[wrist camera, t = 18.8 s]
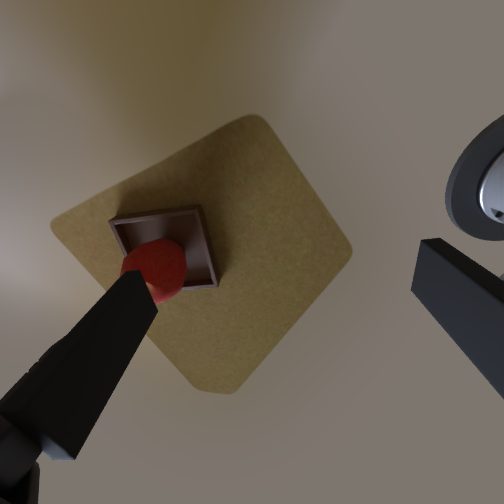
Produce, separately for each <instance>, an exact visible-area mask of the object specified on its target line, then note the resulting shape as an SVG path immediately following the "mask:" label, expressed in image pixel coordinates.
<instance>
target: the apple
mask: <svg viewBox="0 0 504 504" xmlns="http://www.w3.org/2000/svg"><path fill="white" fill-rule="evenodd" d="M131 270H140V271H141V273H142V275H143V278H144V280H145V282H146V284H147V287H148V289H149V291H150V293H151V296H152V298H153V300H154V303H155V304H157V303H161V302H165V301H167V300H169V299H170V298H172V297H173V296H175V295H176V294H177V293H178V292H179V291H181V289H182V286H183V284H184V281H185V277H186V274H187V263H186V255H185V252H184V250H183V249H182V247H181V246H180V245H179V244H178V243H177V242H175V241H173V240H171V239H166V238H160V239H156V240H153V241H150V242H146V243H143V244H141V245H140V246H138V247H137V248H135V249H134V250H133V251H131V252H130V253H129V254H128V255H127V256H126V257H125V258H124V261H123V265H122V269H121V273H120V277H121V276H122V275H123V273H124V272H125V271H131Z"/></svg>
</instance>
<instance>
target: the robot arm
mask: <svg viewBox="0 0 504 504" xmlns="http://www.w3.org/2000/svg"><path fill="white" fill-rule="evenodd" d="M476 202H477V205H478V208H479V209H480V211H481V212H482V213H483V214H484V215H485V216H486V217H488V218H490V219H492V220H494V221H497V222H500V223H503V224H504V148H503V149H502V150H501V151H500V152H498V154H497V155H496V156H495V157H494V158H493V159H492V160H491V161H490V162H489V164H488V165H487V167H486V168H485V170H484V171H483V173H482V175H481V177H480V179H479V182H478V185H477V189H476ZM411 291H412V292H413V293H414V294H415V295H416V297H417V298H418V299H419V300H420V301H421V303H422V304H423V305H424V306H425V307H426V309H427V310H428V311H429V312H430V313H431V314H432V316H433V317H434V318H435V319H436V320H437V321H438V323H439V324H440V325H441V326H442V327H443V328H444V330H445V331H446V332H447V333H448V334H449V335H450V337H451V338H452V339H453V340H454V341H455V342H456V344H457V345H458V346H459V347H460V348H461V350H462V351H463V352H464V353H465V354H466V356H468V358H469V359H470V360H471V361H472V363H473V364H474V365H475V366H476V367H477V368H478V370H480V372H481V373H482V374H483V375H484V376H485V378H486V379H487V380H488V381H489V382H490V384H491V385H492V386H493V387H494V388H495V390H496V391H497V392H498V393H499V394H500V395H501V397H502V398H503V399H504V274H503V275H501V276H500V277H499V278H498V277H497V276H495V275H494V274H493V273H491V272H490V271H488V270H487V269H485V268H484V267H482V266H481V265H479V264H478V263H476V262H475V261H473V260H472V259H470V258H469V257H468V256H466V255H464V254H463V253H462V252H460V251H459V250H457V249H456V248H454V247H453V246H451V245H450V244H448V243H447V242H445V241H444V240H442V239H441V238H433V239H424V240H421V242H420V247H419V253H418V257H417V263H416V267H415V272H414V277H413V282H412V287H411ZM157 313H158V309H157V307H156V305H155V303H154V300H153V298H152V296H151V293H150V291H149V289H148V287H147V284H146V282H145V280H144V278H143V275H142V273H141V271H140V270H131V271H125V272H124V273H123V275H122V276H121V277H120V278H119V279H118V280H117V281H116V282H115V283H114V284H113V285H112V286H111V287H110V289H109V290H108V291H107V292H106V293H105V294H104V295H103V296H102V297H101V298H100V300H99V301H98V302H97V303H96V304H95V305H94V306H93V307H92V308H91V309H90V310H89V311H88V313H86V315H85V316H84V317H83V318H82V319H81V320H80V321H79V322H78V323H77V324H76V326H75V327H73V329H72V330H71V331H70V332H69V333H68V334H67V335H66V336H64V337H63V338H62V339H61V340H59V341H58V342H56V343H55V344H54V345H52V346H51V347H50V348H49V349H48V350H47V351H46V352H45V353H44V354H43V355H42V356H41V357H40V359H39V361H38V362H36V363H35V364H34V365H33V366H32V367H31V368H30V369H29V372H28V373H25V374H24V375H23V376H22V378H21V379H20V380H19V381H18V382H17V383H16V384H15V385H14V386H13V387H12V388H11V389H10V390H9V391H8V392H7V393H6V394H5V395H4V397H3V398H2V399H1V400H0V504H38V494H39V476H40V469H39V464H38V463H37V462H36V459H37V458H38V457H39V455H40V454H41V452H42V451H43V452H44V453H45V454H47V455H48V456H49V457H50V458H51V459H52V460H75V459H76V457H77V455H78V453H79V452H80V450H81V448H82V446H83V445H84V443H85V441H86V439H87V437H88V435H89V434H90V432H91V430H92V428H93V427H94V425H95V423H96V421H97V419H98V418H99V416H100V414H101V412H102V411H103V409H104V407H105V405H106V404H107V402H108V400H109V398H110V396H111V395H112V393H113V391H114V389H115V388H116V386H117V384H118V382H119V380H120V379H121V377H122V375H123V373H124V371H125V370H126V368H127V366H128V364H129V363H130V360H131V359H132V357H133V355H134V354H135V352H136V350H137V348H138V346H139V345H140V343H141V341H142V339H143V338H144V336H145V334H146V332H147V330H148V329H149V327H150V325H151V323H152V322H153V320H154V318H155V316H156V314H157Z"/></svg>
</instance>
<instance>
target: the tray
mask: <svg viewBox="0 0 504 504" xmlns="http://www.w3.org/2000/svg"><path fill="white" fill-rule="evenodd" d="M108 222H109V224H110V226H111V229H112V231H113V233H114V235H115V237H116V239H117V241H118V244H119V246H120V248H121V250H122V252H123V254H124V257H126V256H127V255H128V254H129V253H130V252H131V251H133V250H134V249H135V248H137V247H138V246H140V245H141V244H143V243H146V242H150V241H153V240H156V239H160V238H166V239H171V240H173V241H175V242H177V243H178V244H179V245H180V246H181V247H182V249H183V250H184V252H185V255H186V263H187V274H186V277H185V281H184V284H183V286H182V289H181V291H182V290H192V289H203V288H214V287H218V286H219V283H220V277H219V273H218V269H217V265H216V261H215V258H214V254H213V250H212V246H211V242H210V238H209V235H208V231H207V227H206V223H205V219H204V215H203V211H202V208H201V205H195V206H187V207H180V208H172V209H165V210H158V211H150V212H143V213H135V214H128V215H121V216H115V217H114V218H112V219H110V220H109V221H108Z"/></svg>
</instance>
